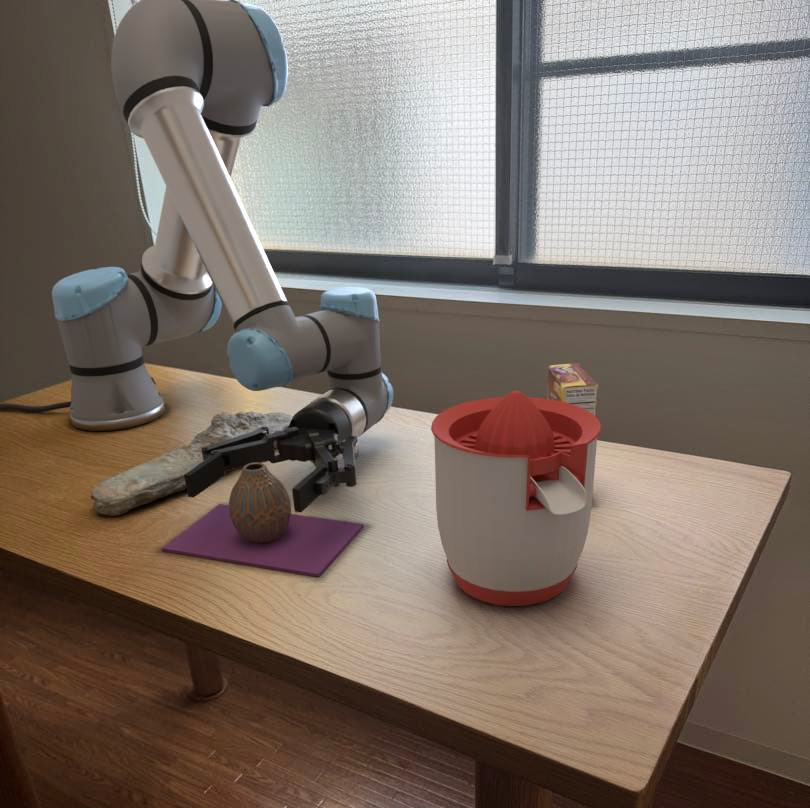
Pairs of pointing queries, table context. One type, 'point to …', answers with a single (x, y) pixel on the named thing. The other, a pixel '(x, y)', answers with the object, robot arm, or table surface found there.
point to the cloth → (293, 552)
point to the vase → (259, 505)
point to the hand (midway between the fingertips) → (240, 493)
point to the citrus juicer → (514, 494)
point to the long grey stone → (176, 464)
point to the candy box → (572, 386)
